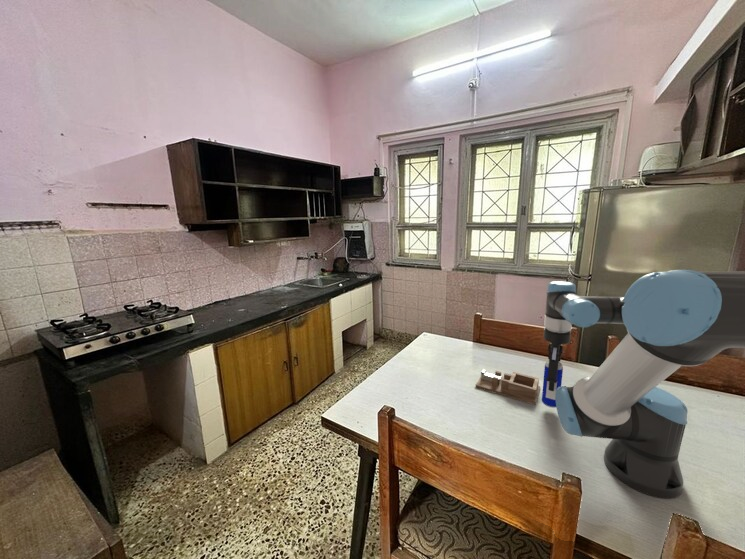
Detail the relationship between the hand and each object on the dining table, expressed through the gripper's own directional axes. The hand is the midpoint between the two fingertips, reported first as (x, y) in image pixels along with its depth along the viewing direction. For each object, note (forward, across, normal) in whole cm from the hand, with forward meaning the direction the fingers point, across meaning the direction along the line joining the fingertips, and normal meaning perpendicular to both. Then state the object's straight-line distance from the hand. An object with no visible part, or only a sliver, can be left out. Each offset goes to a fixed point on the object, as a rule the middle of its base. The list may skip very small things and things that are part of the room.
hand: (551, 393), depth 100 cm
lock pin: (+5, +7, +21) cm, 23 cm away
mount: (+6, +7, +15) cm, 17 cm away
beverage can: (+4, 0, 0) cm, 4 cm away
